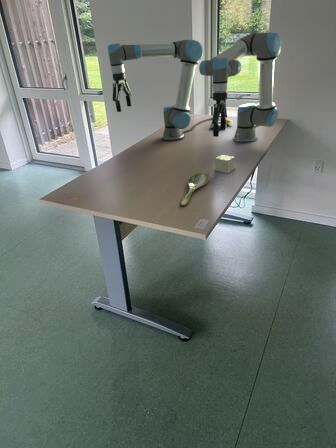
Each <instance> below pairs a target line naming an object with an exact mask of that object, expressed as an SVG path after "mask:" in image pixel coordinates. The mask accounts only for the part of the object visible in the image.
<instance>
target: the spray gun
mask: <svg viewBox="0 0 336 448" xmlns="http://www.w3.org/2000/svg"><path fill="white" fill-rule="evenodd" d="M215 122H216V121H215ZM220 122H221V118H219V121H218V124H219V130H220ZM233 124H234V121H233V120H232V119H228V118H226V127H225V129H226V128H227V127H229V126H230V127H231V126H233ZM210 128H211V129H213V124H212V123H211V124H210Z"/></svg>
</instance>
